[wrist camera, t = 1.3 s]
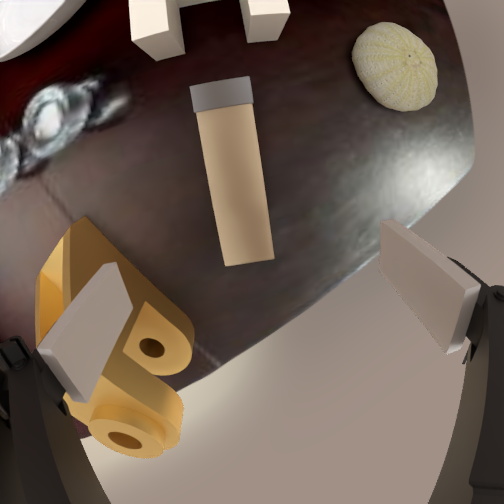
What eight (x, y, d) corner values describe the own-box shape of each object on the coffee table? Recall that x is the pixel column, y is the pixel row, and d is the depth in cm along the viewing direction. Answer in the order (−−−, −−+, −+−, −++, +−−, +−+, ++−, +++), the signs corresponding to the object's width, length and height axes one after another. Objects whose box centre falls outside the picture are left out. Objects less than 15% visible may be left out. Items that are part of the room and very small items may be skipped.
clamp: (210, 334, 34) (200, 451, 19) (162, 366, 36) (140, 468, 21) (85, 215, 27) (-12, 289, 12) (50, 265, 29) (-27, 344, 14)
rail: (226, 239, 29) (223, 268, 23) (200, 97, 23) (189, 86, 17) (268, 233, 29) (276, 260, 23) (246, 89, 23) (249, 76, 17)
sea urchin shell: (374, 125, 22) (385, 50, 15) (338, 80, 26) (337, 16, 18) (446, 116, 22) (465, 54, 14) (405, 74, 25) (413, 17, 18)
